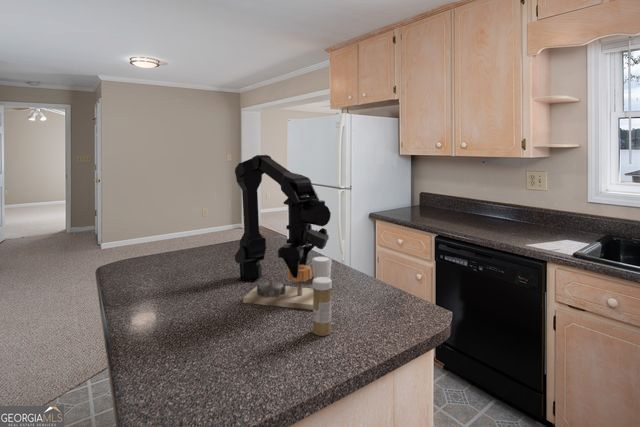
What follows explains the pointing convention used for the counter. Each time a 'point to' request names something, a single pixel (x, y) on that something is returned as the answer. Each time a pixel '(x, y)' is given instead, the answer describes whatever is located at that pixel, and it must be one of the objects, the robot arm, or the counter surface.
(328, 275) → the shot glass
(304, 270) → the orange gear
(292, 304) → the gear board
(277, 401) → the counter surface
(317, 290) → the sprinkles bottle
